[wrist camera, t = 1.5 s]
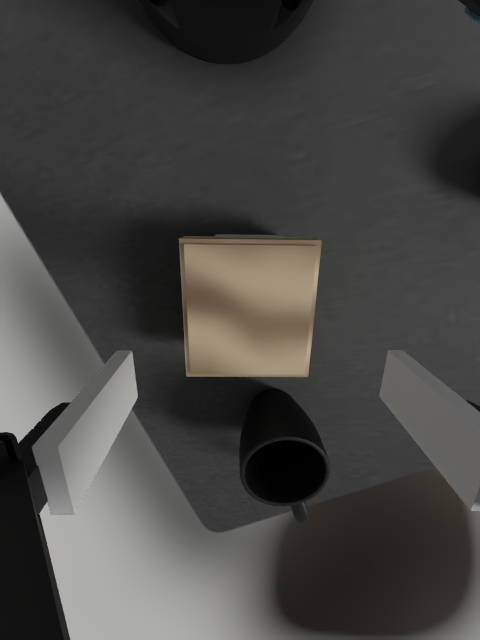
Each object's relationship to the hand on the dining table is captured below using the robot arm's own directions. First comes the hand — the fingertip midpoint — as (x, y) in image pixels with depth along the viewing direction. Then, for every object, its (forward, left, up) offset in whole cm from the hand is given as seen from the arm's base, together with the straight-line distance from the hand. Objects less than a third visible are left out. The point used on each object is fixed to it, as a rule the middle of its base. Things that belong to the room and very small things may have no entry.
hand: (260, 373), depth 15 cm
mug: (+16, +4, -17) cm, 23 cm away
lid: (0, 0, -13) cm, 13 cm away
